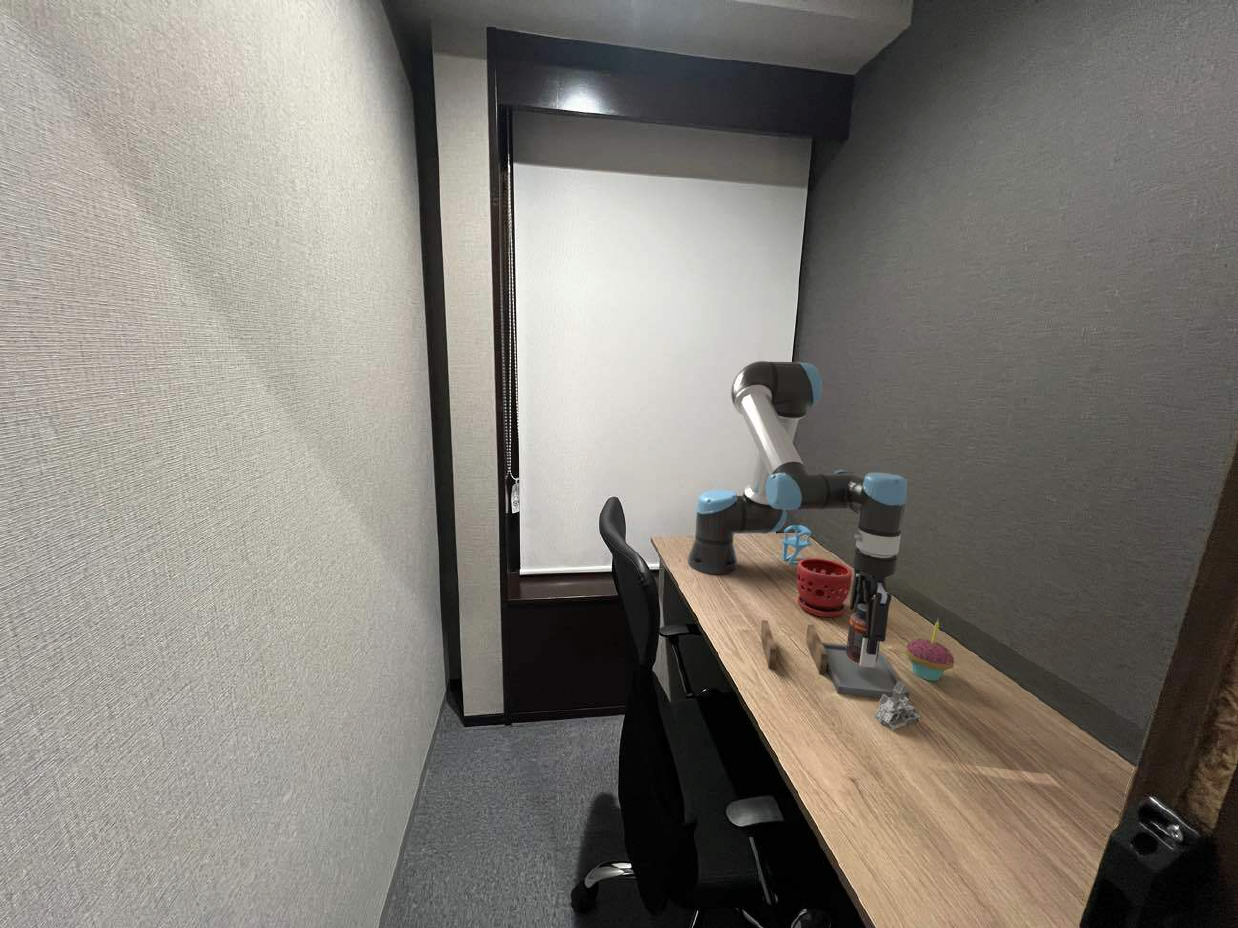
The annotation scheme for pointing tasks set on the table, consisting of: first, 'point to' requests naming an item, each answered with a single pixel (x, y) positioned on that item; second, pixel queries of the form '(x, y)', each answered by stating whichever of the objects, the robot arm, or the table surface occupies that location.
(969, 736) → the table surface
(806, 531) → the chair
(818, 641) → the cradle
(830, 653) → the tray
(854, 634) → the supplement bottle
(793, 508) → the robot arm
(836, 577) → the plant pot
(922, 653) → the cupcake
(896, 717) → the house of cards
